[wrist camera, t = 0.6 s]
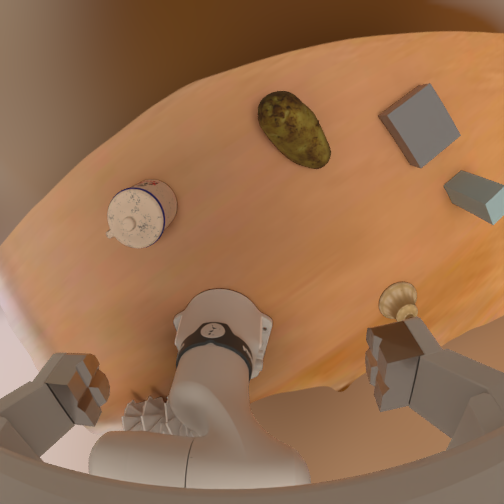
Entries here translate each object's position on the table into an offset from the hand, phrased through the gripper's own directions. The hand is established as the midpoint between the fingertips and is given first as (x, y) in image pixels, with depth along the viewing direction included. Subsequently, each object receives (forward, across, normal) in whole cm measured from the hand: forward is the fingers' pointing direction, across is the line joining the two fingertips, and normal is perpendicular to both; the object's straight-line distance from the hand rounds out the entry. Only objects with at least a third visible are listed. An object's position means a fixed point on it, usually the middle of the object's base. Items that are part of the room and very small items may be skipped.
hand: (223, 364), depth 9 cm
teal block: (+44, +36, -7) cm, 57 cm away
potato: (+44, +7, +5) cm, 45 cm away
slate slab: (+44, +28, +5) cm, 52 cm away
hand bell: (+44, +24, -28) cm, 58 cm away
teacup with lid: (+44, -19, -3) cm, 48 cm away
